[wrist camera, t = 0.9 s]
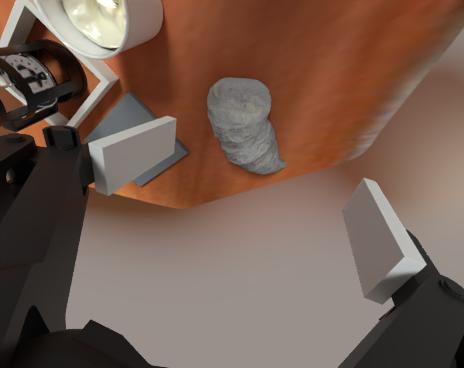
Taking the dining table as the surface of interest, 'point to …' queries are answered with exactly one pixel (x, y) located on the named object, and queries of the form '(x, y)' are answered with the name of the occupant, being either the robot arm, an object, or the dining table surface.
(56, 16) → the candle holder
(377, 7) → the dining table surface
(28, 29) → the holder frame
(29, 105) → the french press
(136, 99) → the slate mat
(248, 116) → the seashell
